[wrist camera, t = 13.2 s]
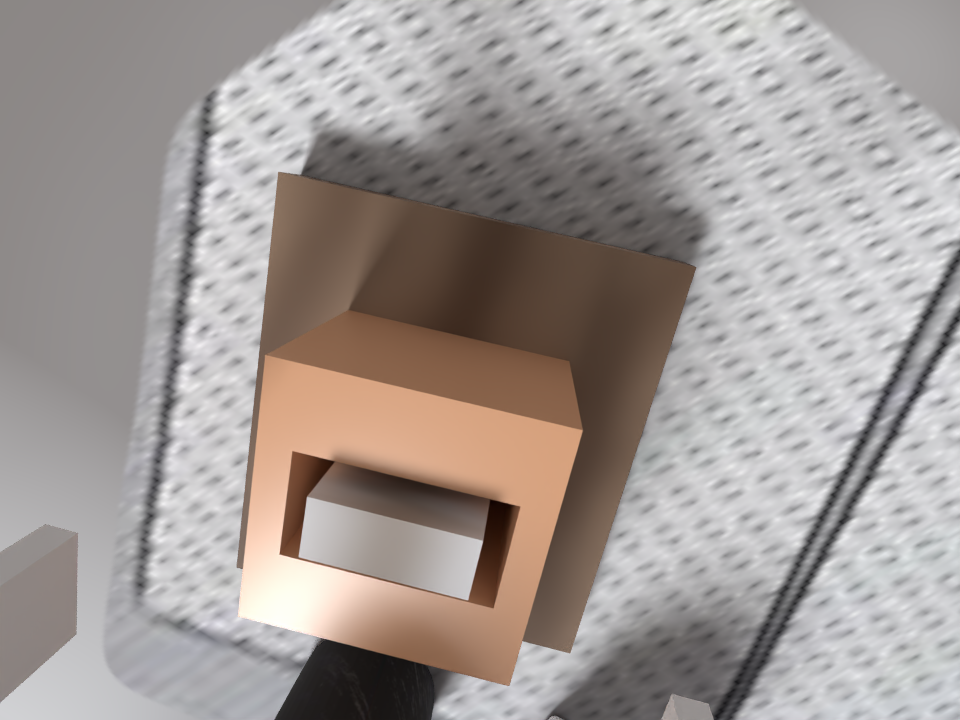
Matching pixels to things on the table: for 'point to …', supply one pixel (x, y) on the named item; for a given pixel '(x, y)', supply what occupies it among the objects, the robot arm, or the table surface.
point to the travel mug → (359, 687)
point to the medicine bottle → (555, 718)
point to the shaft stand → (481, 316)
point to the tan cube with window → (416, 456)
